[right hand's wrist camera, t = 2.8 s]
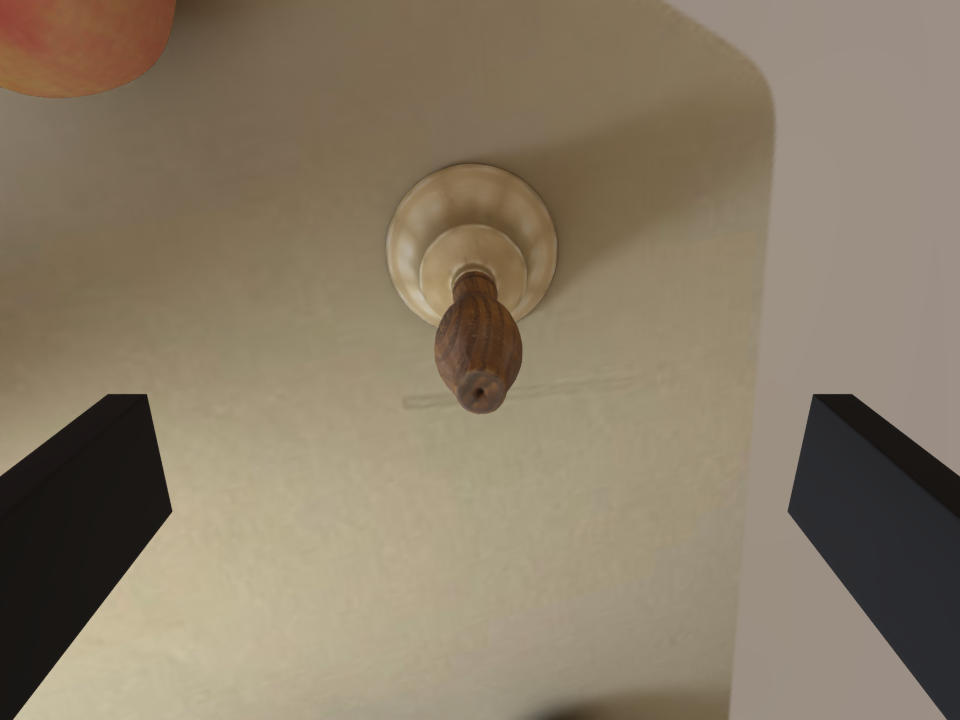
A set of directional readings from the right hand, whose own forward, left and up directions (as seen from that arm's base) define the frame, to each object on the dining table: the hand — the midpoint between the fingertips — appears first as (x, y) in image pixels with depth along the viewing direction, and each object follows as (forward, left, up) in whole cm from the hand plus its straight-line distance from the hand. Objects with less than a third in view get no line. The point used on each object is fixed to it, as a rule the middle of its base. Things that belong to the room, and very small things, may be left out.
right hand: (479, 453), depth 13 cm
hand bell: (0, 0, -19) cm, 19 cm away
